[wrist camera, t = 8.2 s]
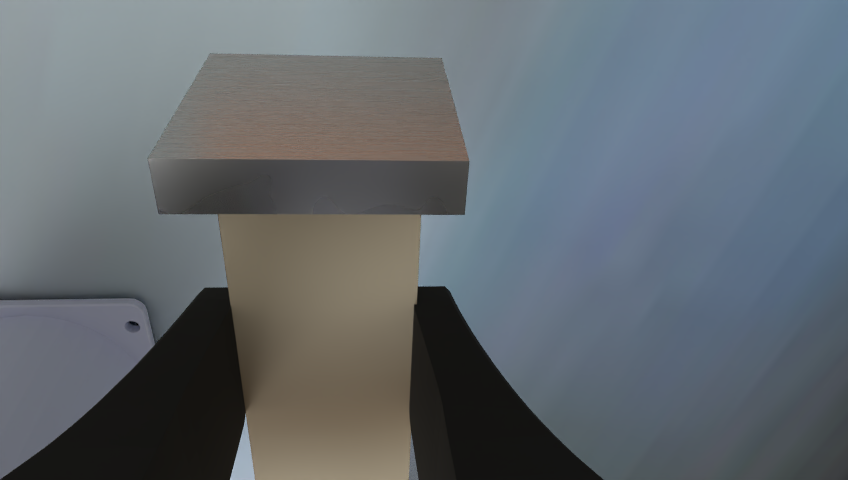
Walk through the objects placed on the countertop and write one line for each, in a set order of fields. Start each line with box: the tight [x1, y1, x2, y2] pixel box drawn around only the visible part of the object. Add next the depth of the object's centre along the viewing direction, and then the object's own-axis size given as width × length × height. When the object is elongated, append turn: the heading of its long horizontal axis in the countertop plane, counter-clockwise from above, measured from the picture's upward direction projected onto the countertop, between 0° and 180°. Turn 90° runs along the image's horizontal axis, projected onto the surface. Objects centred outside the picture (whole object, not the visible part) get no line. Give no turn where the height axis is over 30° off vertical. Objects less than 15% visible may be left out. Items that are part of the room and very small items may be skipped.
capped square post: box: [148, 53, 469, 480], centre depth 13 cm, size 11×4×4 cm, turn 178°
